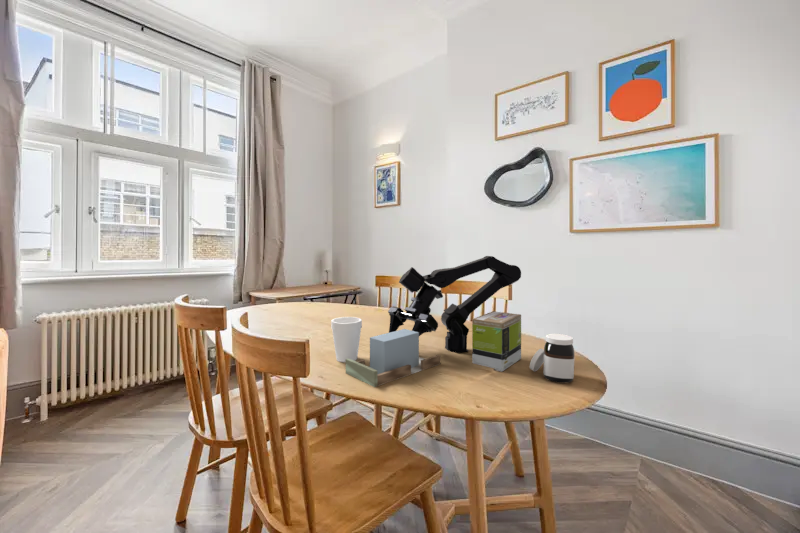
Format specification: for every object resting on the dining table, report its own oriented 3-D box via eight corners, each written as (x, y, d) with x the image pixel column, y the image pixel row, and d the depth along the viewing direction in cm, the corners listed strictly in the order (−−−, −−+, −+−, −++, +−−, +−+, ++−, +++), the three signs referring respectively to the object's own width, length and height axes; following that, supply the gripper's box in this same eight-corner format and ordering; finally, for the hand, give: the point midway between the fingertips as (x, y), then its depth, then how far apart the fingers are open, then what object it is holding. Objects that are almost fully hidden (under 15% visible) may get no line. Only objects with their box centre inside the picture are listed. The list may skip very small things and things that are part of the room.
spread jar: (575, 387, 92) (577, 343, 91) (529, 381, 96) (530, 338, 95) (570, 371, 103) (572, 332, 103) (529, 366, 107) (530, 328, 106)
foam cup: (325, 363, 110) (325, 321, 109) (341, 354, 118) (341, 316, 117) (352, 367, 106) (352, 324, 105) (366, 358, 115) (366, 318, 114)
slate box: (404, 360, 111) (404, 328, 110) (418, 365, 106) (418, 332, 106) (369, 372, 101) (369, 337, 100) (384, 377, 96) (384, 341, 96)
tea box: (492, 353, 120) (493, 310, 119) (521, 359, 114) (523, 314, 113) (470, 365, 108) (471, 317, 107) (502, 372, 102) (503, 322, 101)
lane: (398, 351, 122) (398, 338, 121) (456, 371, 103) (456, 355, 103) (334, 369, 104) (334, 354, 104) (389, 396, 86) (389, 378, 86)
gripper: (455, 319, 116) (432, 360, 110) (415, 311, 130) (393, 346, 124) (439, 298, 111) (414, 340, 104) (399, 292, 124) (375, 328, 118)
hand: (398, 339), depth 113 cm, fingers open, 9 cm apart
